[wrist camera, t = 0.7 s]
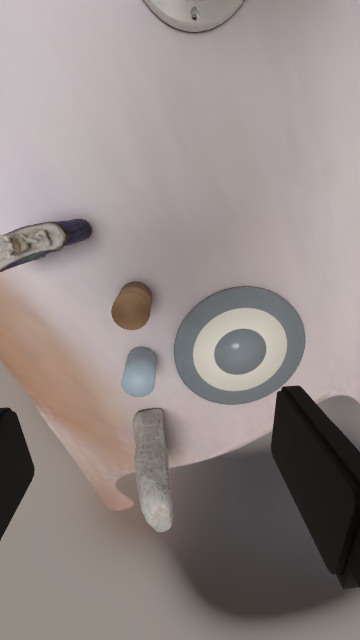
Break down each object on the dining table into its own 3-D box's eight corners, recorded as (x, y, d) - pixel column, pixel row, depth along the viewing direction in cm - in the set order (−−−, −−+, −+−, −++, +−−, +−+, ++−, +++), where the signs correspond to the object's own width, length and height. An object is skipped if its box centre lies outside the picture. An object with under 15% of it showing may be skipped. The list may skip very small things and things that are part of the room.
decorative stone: (174, 450, 46) (179, 550, 32) (143, 455, 46) (134, 557, 32) (166, 405, 42) (168, 498, 28) (131, 410, 42) (115, 505, 28)
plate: (171, 289, 34) (172, 291, 33) (313, 284, 35) (317, 286, 34) (175, 403, 42) (176, 408, 41) (291, 397, 43) (294, 401, 42)
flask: (31, 262, 32) (-30, 282, 22) (17, 240, 30) (-53, 250, 21) (96, 236, 31) (65, 244, 21) (85, 212, 30) (46, 209, 20)
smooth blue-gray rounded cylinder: (126, 347, 37) (119, 370, 32) (155, 346, 37) (153, 368, 32) (129, 372, 39) (123, 397, 33) (157, 370, 39) (155, 396, 33)
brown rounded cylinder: (118, 282, 33) (109, 295, 28) (150, 281, 33) (148, 293, 28) (121, 312, 35) (113, 330, 29) (153, 311, 35) (150, 329, 30)
